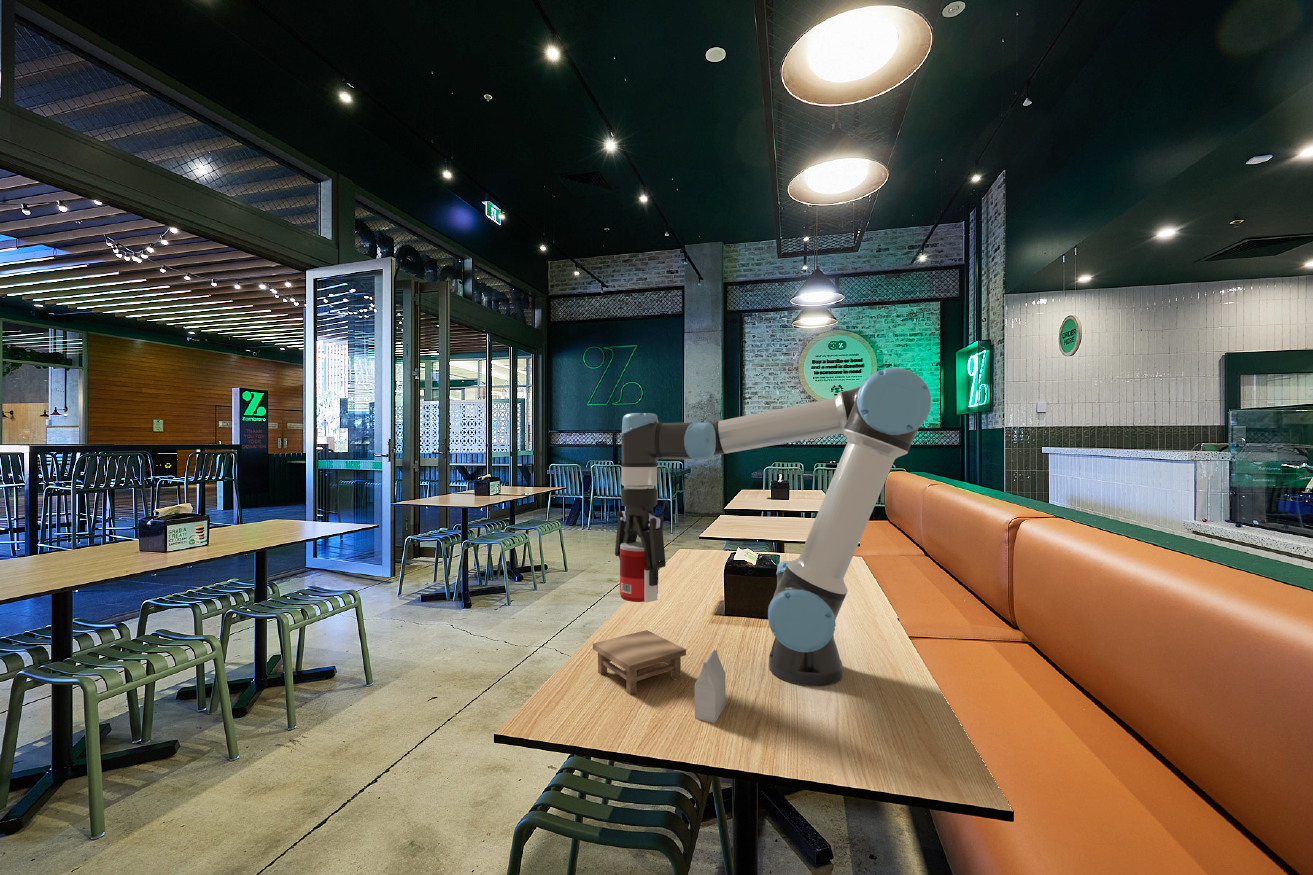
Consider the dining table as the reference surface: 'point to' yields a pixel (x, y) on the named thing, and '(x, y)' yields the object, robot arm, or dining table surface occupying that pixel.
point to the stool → (639, 656)
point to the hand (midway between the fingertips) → (638, 595)
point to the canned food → (632, 571)
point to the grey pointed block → (710, 690)
